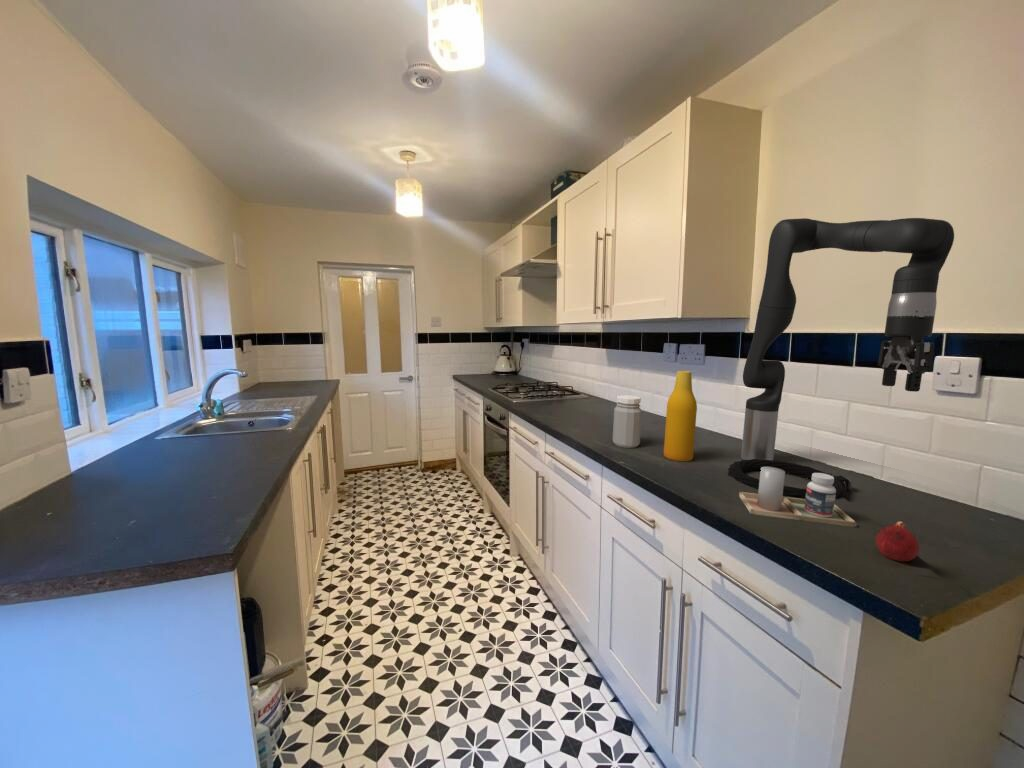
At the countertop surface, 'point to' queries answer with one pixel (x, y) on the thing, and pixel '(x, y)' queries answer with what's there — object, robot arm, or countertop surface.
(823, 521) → the divided tray
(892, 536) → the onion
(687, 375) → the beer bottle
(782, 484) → the grey tube
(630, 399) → the jar
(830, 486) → the pill bottle
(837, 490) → the cable lock
